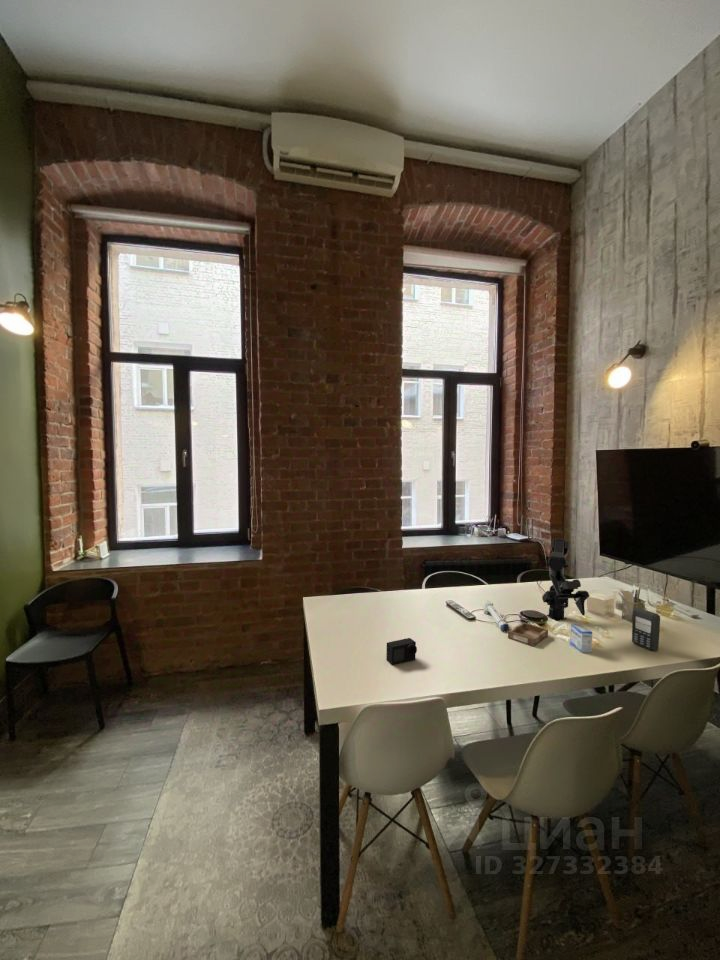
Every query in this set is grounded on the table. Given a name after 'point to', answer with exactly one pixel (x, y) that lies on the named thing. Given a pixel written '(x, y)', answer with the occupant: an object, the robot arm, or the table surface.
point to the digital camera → (401, 651)
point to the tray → (528, 634)
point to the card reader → (645, 629)
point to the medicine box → (581, 638)
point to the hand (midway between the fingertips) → (573, 615)
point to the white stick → (495, 616)
